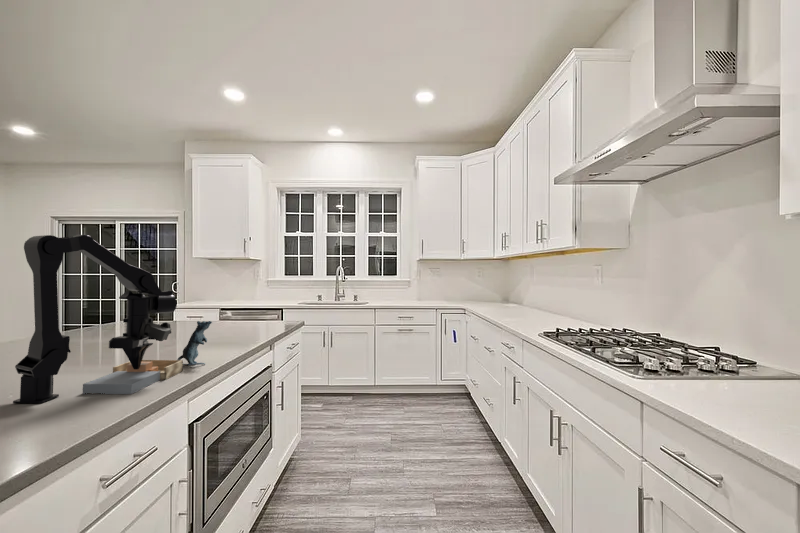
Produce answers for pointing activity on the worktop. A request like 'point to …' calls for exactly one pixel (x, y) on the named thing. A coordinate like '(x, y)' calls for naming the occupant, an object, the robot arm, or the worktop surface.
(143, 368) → the tile near
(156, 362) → the tray
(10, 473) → the worktop surface
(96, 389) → the slate board
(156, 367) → the tile far
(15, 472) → the worktop surface
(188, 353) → the sculpture
